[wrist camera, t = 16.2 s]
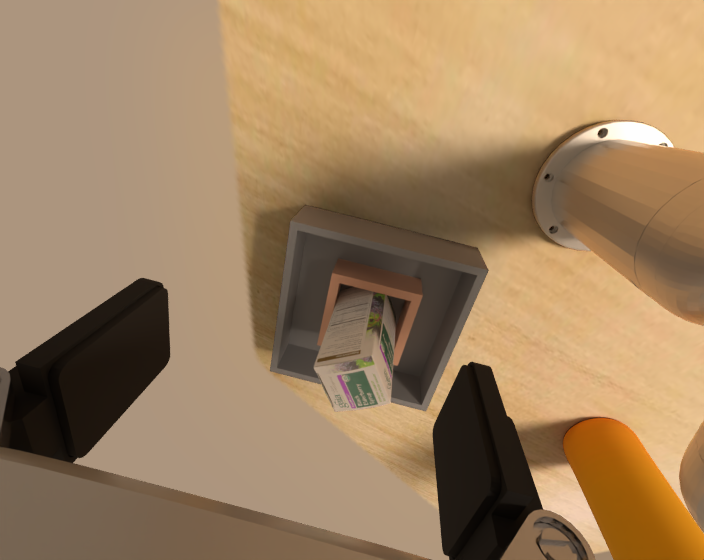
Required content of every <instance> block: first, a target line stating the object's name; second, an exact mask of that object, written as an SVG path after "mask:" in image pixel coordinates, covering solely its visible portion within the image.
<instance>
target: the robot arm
mask: <svg viewBox="0 0 704 560" xmlns="http://www.w3.org/2000/svg"><path fill="white" fill-rule="evenodd" d="M599 130H601V133H600V134H599V135H597V134H598V131H599ZM546 174H548V177H547V178H546V179H544V177H545V175H546ZM532 207H533V213H534V216H535V219H536V222H537V223H538V225H539V226H540V228H541V230H542V231H543V232H544V233H545V234H546V235H547V236H548V237H549V238H551V239H552V240H553V241H555V242H556V243H558V244H560V245H562V246H564V247H566V248H570V249H574V250H579V251H593V252H594V253H595V254H596V255H598V256H599V257H600V258H601V259H603V260H604V261H605V262H606V263H608V264H609V265H610V266H611V267H613V268H614V269H615V270H616V271H618V272H619V273H620V274H621V275H623V276H624V277H625V278H626V279H628V280H629V281H630V282H631V283H633V284H634V285H635V286H636V287H638V288H639V289H640V290H641V291H643V292H644V293H645V294H646V295H648V296H649V297H651V298H652V299H653V300H654V301H656V302H657V303H658V304H659V305H661V306H662V307H663V308H665V309H666V310H668V311H669V312H671V313H672V314H674V315H676V316H678V317H680V318H682V319H684V320H686V321H689V322H692V323H695V324H698V325H702V326H704V153H701V152H696V151H690V150H684V149H679V148H674V145H673V143H672V142H671V141H670V140H669V138H668V137H667V136H666V135H665V134H664V133H663V132H661V131H660V130H658V129H657V128H655V127H654V126H651V125H648V124H645V123H643V122H637V121H629V120H614V121H607V122H601V123H598V124H595V125H592V126H589V127H587V128H585V129H583V130H581V131H579V132H577V133H575V134H573V135H572V136H571V137H569V138H568V139H567V140H565V141H564V142H563V143H561V144H560V145H559V146H558V147H557V148H556V149H555V150H554V151H553V152H552V153H551V154H550V156H549V157H548V159H547V160H546V161H545V163H544V164H543V165H542V167H541V169H540V171H539V173H538V175H537V177H536V181H535V184H534V187H533V194H532ZM552 226H553V227H552ZM550 227H552V229H550ZM169 358H170V338H169V312H168V292H167V289H165V288H164V287H163V285H162V283H160V282H157V281H153V280H149V279H145V278H140V279H138V280H136V281H135V282H133V283H132V284H131V285H129V286H128V287H126V288H124V289H123V290H121V291H120V292H118V293H117V294H116V295H114V296H113V297H111V298H110V299H108V300H107V301H105V302H104V303H102V304H101V305H99V306H98V307H96V308H95V309H93V310H92V311H90V312H89V313H87V314H86V315H84V316H83V317H81V318H80V319H78V320H77V321H76V322H74V323H72V324H71V325H69V326H68V327H66V328H65V329H64V330H62V331H61V332H59V333H58V334H56V335H55V336H53V337H52V338H50V339H49V340H47V341H46V342H44V343H43V344H41V345H40V346H38V347H37V348H36V349H34V350H32V351H31V352H29V353H28V354H26V355H25V356H23V357H22V358H20V359H19V360H18V361H16V362H15V363H16V367H14V368H13V369H11V370H10V371H7V370H6V369H4V368H1V367H0V560H430V559H427V558H424V557H420V556H417V555H413V554H410V553H407V552H403V551H400V550H396V549H393V548H389V547H386V546H382V545H379V544H375V543H371V542H368V541H364V540H360V539H357V538H353V537H349V536H345V535H342V534H338V533H335V532H330V531H327V530H324V529H320V528H316V527H313V526H309V525H305V524H302V523H298V522H294V521H290V520H287V519H283V518H279V517H276V516H272V515H268V514H264V513H260V512H257V511H253V510H249V509H246V508H242V507H238V506H234V505H230V504H227V503H223V502H219V501H215V500H211V499H208V498H204V497H200V496H197V495H193V494H189V493H185V492H182V491H178V490H174V489H170V488H166V487H162V486H159V485H155V484H151V483H147V482H143V481H139V480H136V479H132V478H128V477H124V476H120V475H116V474H113V473H109V472H104V471H101V470H97V469H93V468H89V467H86V466H81V465H78V464H74V463H73V462H74V461H75V460H76V459H77V458H82V457H83V456H85V455H86V454H87V453H88V452H89V451H90V450H91V449H92V448H93V447H94V445H95V444H96V443H97V442H98V441H99V440H100V439H101V438H102V437H103V435H104V434H105V433H106V432H107V431H108V430H109V429H110V428H111V427H112V426H113V424H114V423H115V422H116V421H117V420H118V419H119V418H120V417H121V415H122V414H123V413H124V412H125V411H126V410H127V409H128V407H130V405H131V404H132V403H133V402H134V401H135V400H136V399H137V398H138V396H139V395H140V394H141V393H142V392H143V391H144V390H145V389H146V387H147V386H148V385H149V384H150V383H151V382H152V381H153V380H154V379H155V378H156V376H157V375H158V374H159V373H160V372H161V371H162V370H163V369H164V368H165V366H166V365H167V363H168V361H169ZM433 445H434V456H435V468H436V479H437V491H438V503H439V514H440V525H441V538H442V548H443V552H444V554H445V555H447V556H449V560H595V556H594V554H593V552H592V550H591V548H590V546H589V544H588V543H587V541H586V540H585V538H584V537H583V536H582V534H581V533H580V532H579V531H578V530H577V529H576V528H575V527H574V526H573V525H572V524H571V523H570V522H569V521H567V520H566V519H564V518H563V517H562V516H560V515H558V514H556V513H554V512H551V511H548V510H543V508H542V505H541V502H540V499H539V496H538V493H537V490H536V487H535V484H534V481H533V478H532V475H531V472H530V469H529V466H528V463H527V460H526V458H525V455H524V452H523V449H522V446H521V443H520V440H519V437H518V434H517V431H516V428H515V425H514V423H513V421H512V419H511V418H510V417H508V416H507V415H506V412H505V408H504V405H503V402H502V399H501V396H500V393H499V390H498V387H497V384H496V381H495V378H494V375H493V372H492V369H491V367H489V366H486V365H482V364H478V363H474V362H470V363H469V364H468V366H467V365H463V366H462V367H461V369H460V371H459V373H458V375H457V377H456V379H455V381H454V383H453V386H452V388H451V390H450V392H449V394H448V396H447V398H446V400H445V403H444V405H443V407H442V409H441V411H440V413H439V415H438V417H437V420H436V422H435V424H434V428H433ZM679 479H680V487H681V492H682V495H683V498H684V501H685V503H686V505H687V507H688V510H689V512H690V513H691V515H692V517H693V518H694V520H695V521H696V523H697V524H698V526H699V527H700V528H701V530H702V531H703V532H704V421H703V422H702V424H701V425H700V427H699V429H698V431H697V432H696V434H695V436H694V437H693V439H692V440H691V442H690V444H689V445H688V447H687V449H686V451H685V453H684V456H683V459H682V462H681V465H680V473H679Z"/></svg>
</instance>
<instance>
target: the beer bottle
mask: <svg viewBox="0 0 704 560" xmlns="http://www.w3.org/2000/svg"><path fill="white" fill-rule="evenodd" d="M563 448H564V452H565V455H566V457H567V460H568V462H569V464H570V466H571V468H572V470H573V472H574V474H575V476H576V478H577V480H578V482H579V485H580V487H581V489H582V491H583V493H584V496H585V498H586V500H587V502H588V504H589V506H590V509H591V511H592V513H593V515H594V517H595V520H596V522H597V524H598V526H599V528H600V531H601V533H602V535H603V537H604V539H605V541H606V544H607V546H608V548H609V550H610V552H611V555H612V557H613V559H614V560H704V534H703V532H702V531H701V529H700V528H699V526H698V525H697V523H696V522H695V521H694V519H693V518H692V516H691V515H690V513H689V512H688V510H687V509H686V508H685V506H684V505H683V503H682V502H681V500H680V499H679V497H678V496H677V495H676V493H675V492H674V490H673V489H672V487H671V486H670V484H669V483H668V482H667V480H666V479H665V477H664V476H663V474H662V473H661V471H660V470H659V469H658V467H657V466H656V464H655V463H654V461H653V460H652V458H651V457H650V455H649V454H648V453H647V451H646V449H645V448H644V446H643V445H642V443H641V442H640V440H639V438H638V437H637V436H636V434H635V433H634V432H633V431H632V430H631V429H630V428H629V427H628V426H626V425H625V424H623V423H621V422H619V421H617V420H613V419H608V418H594V419H588V420H585V421H582V422H580V423H578V424H576V425H574V426H573V427H572V428H570V429H569V430H568V432H567V433H566V434H565V436H564V440H563Z"/></svg>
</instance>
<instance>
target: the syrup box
mask: <svg viewBox="0 0 704 560" xmlns="http://www.w3.org/2000/svg"><path fill="white" fill-rule="evenodd" d="M395 330H396V315H395V311H394V308H393V304H392V301H391V299H390V296H388V295H384V294H380V293H376V292H372V291H368V290H364V289H360V288H357V287H352V288H348V289H345V290H341V291H340V294H339V296H338V299H337V302H336V305H335V308H334V311H333V313H332V316H331V319H330V322H329V325H328V328H327V330H326V333H325V336H324V339H323V342H322V345H321V347H320V350H319V353H318V356H317V359H316V361H315V364H314V370H315V372H316V373H317V375H318V377H319V379H320V382H321V384H322V387H323V389H324V391H325V393H326V395H327V397H328V399H329V401H330V403H331V405H332V407H333V409H334V411H336V412H338V411H352V410H360V409H367V408H372V407H378V406H382V405H386V404H390V403H391V390H392V375H393V361H394V347H395Z"/></svg>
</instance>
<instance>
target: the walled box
mask: <svg viewBox="0 0 704 560" xmlns="http://www.w3.org/2000/svg"><path fill="white" fill-rule="evenodd" d="M488 271H489V270H488V268H487V266H486V264H485V262H484V260H483V258H482V256H481V254H480V252H479V250H478V248H476V247H472V246H468V245H464V244H460V243H456V242H452V241H448V240H444V239H440V238H436V237H432V236H428V235H424V234H420V233H416V232H412V231H408V230H404V229H400V228H396V227H392V226H388V225H384V224H380V223H376V222H372V221H368V220H364V219H360V218H356V217H352V216H348V215H344V214H340V213H336V212H332V211H328V210H324V209H320V208H316V207H312V206H308V205H305V206H304V207H303V208H302V209H301V210H300V211H299V212H298V213H297V214H296V215H295V217H294V218H293V219H292V220H291V221H290V228H289V236H288V243H287V250H286V258H285V265H284V272H283V279H282V287H281V294H280V301H279V309H278V316H277V323H276V331H275V338H274V345H273V353H272V360H271V367H270V371H272V372H275V373H279V374H283V375H287V376H291V377H295V378H299V379H302V380H306V381H310V382H314V383H318V384H321V382H320V379H319V377H318V375H317V373H316V372H315V370H314V364H315V361H316V359H317V356H318V353H319V350H320V347H321V345H322V342H323V339H324V336H325V333H326V330H327V328H328V325H329V322H330V319H331V316H332V313H333V311H334V308H335V305H336V302H337V299H338V296H339V294H340V291H341V290H345V289H348V288H352V287H357V288H360V289H364V290H368V291H372V292H376V293H380V294H384V295H388V296H390V299H391V301H392V304H393V308H394V311H395V315H396V330H395V347H394V361H393V375H392V390H391V403H395V404H399V405H403V406H407V407H411V408H415V409H419V410H422V411H426V410H427V408H428V406H429V403H430V401H431V399H432V397H433V394H434V392H435V390H436V388H437V385H438V383H439V381H440V379H441V376H442V374H443V372H444V370H445V367H446V365H447V363H448V361H449V358H450V356H451V354H452V352H453V349H454V347H455V345H456V343H457V340H458V338H459V336H460V334H461V331H462V329H463V327H464V325H465V322H466V320H467V318H468V316H469V313H470V311H471V309H472V307H473V304H474V302H475V300H476V298H477V295H478V293H479V291H480V289H481V286H482V284H483V282H484V280H485V277H486V275H487V273H488Z"/></svg>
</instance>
